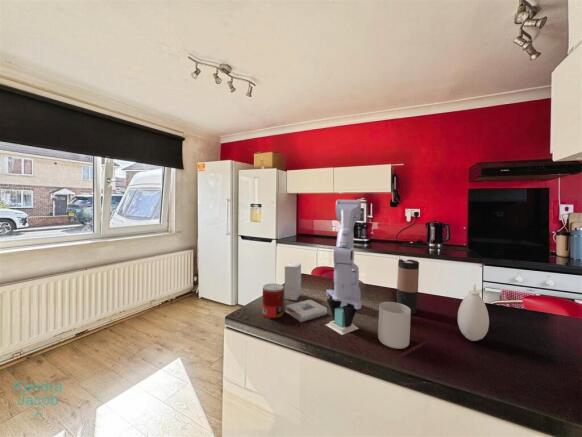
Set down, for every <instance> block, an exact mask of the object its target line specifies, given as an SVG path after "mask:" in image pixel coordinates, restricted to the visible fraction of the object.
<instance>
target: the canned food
mask: <svg viewBox="0 0 582 437" xmlns="http://www.w3.org/2000/svg"><path fill="white" fill-rule="evenodd" d="M284 301H285V285H283V284H280V283H267V284H264V285H262V316H263V318H268V319H278V318H281V317H283V315H284V309H285V308H284V306H285V304H284Z"/></svg>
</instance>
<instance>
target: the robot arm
mask: <svg viewBox="0 0 582 437" xmlns="http://www.w3.org/2000/svg"><path fill="white" fill-rule="evenodd" d="M361 212H362V200H361V199H339V198H338V199H337V200H336V201H335V215H336V219H337V221H340V222H341V224H340V225H341V228H340V230H339V231H338V232H337V235H336V236H337V237H336V246H335V248H334V250H333V255H332V256H333V270H334V271H333V283H334V284H333V285H334V286H333V287H334V289H331V288H329V289H326V292H325V295H326V296H327V297H329V298H327V299H326V302H327V303H328V305H329V308H330V313H331V316H332V321H334V320H335V308H338V307H342V306H343V307H342V308H343V310H344V315H345V326H346V327H349V326H351V324H353V321H354V317H355V314H356V313H357V311H358V310H360V309H362V306H363V305H362V302H361V296H362V295H361V289H360V288H361V287H360V286H359V283H360V282H359V278H360V271H359V269H360V268H359V266H358V265H357V264H356V263H355V262H354V261H355V250H354V240H355V239H354V238H355V237H354V236H355V235H354V228H355V227H354V226H355V224H356V223H357V222H358V221H360V219H361V215H362V214H361Z"/></svg>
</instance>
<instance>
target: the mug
mask: <svg viewBox="0 0 582 437" xmlns="http://www.w3.org/2000/svg"><path fill="white" fill-rule="evenodd" d="M411 315H412V314H411V310H410V308H409V307H407V306H405V305H403V304H400V303H397V302H394V301H384V302H381V303H379V304H378V321H377V322H378V323H377V324H378V325H377V326H378V327H377V328H378V331H377V338H378V340H379V342H380V343H381V344H382V345H383V346H386V347H389V348H391V349H396V350H398V349H399V350H400V349H401V350H402V349H405V348H408V347H409V345H410V337H411V336H410V334H411Z"/></svg>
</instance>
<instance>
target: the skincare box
mask: <svg viewBox="0 0 582 437" xmlns="http://www.w3.org/2000/svg"><path fill="white" fill-rule="evenodd" d="M301 295H302V263H298V262H289V263H288V264H286V265H285V266H284V300H289V301H298V299H299V297H300V296H301Z"/></svg>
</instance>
